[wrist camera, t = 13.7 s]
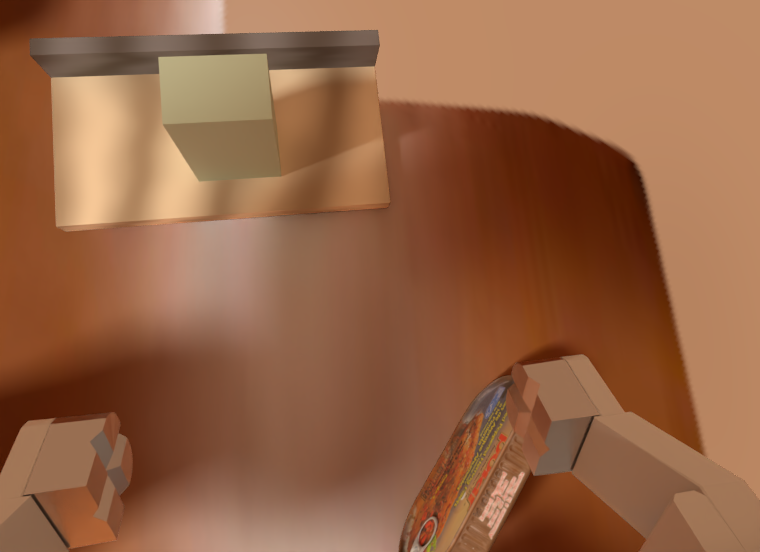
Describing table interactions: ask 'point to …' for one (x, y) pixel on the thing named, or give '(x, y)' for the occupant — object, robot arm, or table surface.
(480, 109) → the table surface
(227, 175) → the carton
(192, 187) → the shelf
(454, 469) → the tin
